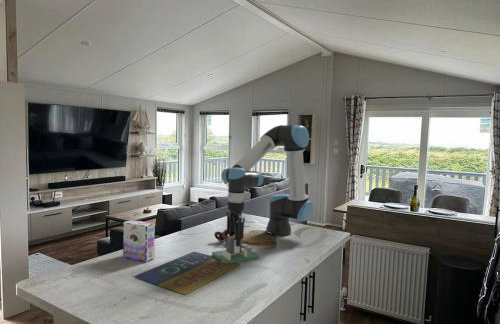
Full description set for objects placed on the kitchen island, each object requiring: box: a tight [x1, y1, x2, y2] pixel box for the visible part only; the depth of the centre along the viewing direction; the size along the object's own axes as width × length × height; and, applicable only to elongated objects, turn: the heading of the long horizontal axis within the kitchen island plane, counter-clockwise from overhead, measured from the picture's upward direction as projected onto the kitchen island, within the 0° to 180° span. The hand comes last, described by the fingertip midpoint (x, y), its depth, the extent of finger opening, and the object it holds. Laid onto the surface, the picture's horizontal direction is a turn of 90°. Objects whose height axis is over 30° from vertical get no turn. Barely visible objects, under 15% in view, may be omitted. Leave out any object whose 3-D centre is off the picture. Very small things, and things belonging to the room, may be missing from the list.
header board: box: [212, 243, 261, 264], centre depth 160 cm, size 18×14×4 cm
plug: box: [225, 235, 243, 254], centre depth 156 cm, size 6×4×8 cm, turn 121°
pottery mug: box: [213, 228, 229, 246], centre depth 179 cm, size 12×10×8 cm
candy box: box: [122, 219, 156, 263], centre depth 152 cm, size 14×6×16 cm, turn 65°
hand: (234, 251), depth 157 cm, fingers closed on plug, 4 cm apart
